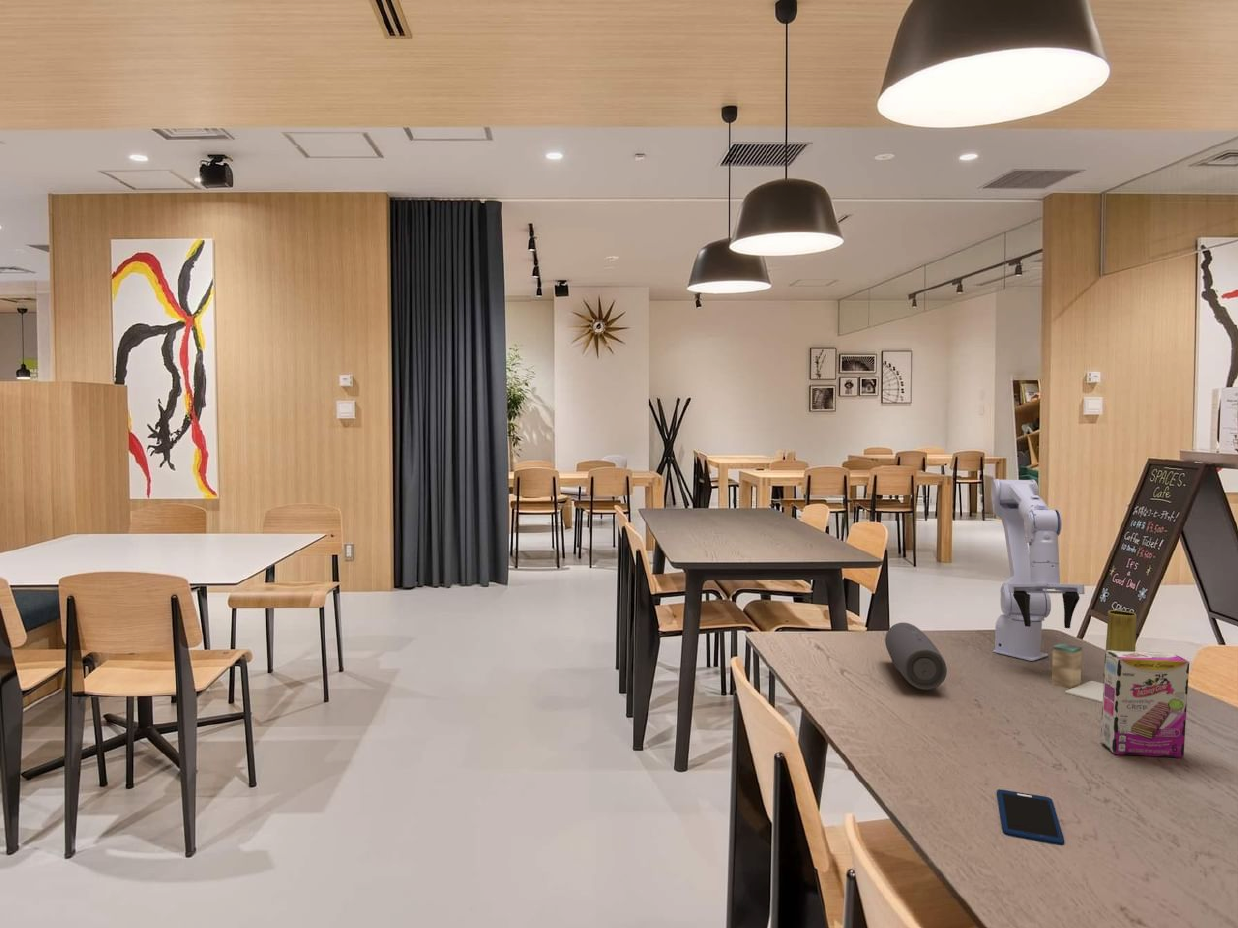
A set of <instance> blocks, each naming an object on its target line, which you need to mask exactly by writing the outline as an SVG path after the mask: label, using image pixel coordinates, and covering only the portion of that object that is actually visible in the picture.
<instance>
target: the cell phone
mask: <svg viewBox="0 0 1238 928" xmlns="http://www.w3.org/2000/svg"><path fill="white" fill-rule="evenodd" d="M996 798H997V804H998V810H999V811H998V812H999V818H1000V825H1001V829H1002V833H1003V834H1004V835H1006V836H1008V837H1014V838H1018V839H1024V840H1030V841H1036V842H1041V843H1047V844H1052V845H1059V846H1063V845H1064V844H1065V837H1064V834H1063V831H1062V827H1061V824H1060V821H1059V818H1058V813H1057V810H1056V808H1055V804H1054V802H1053V799H1052V798H1050V797H1049V796H1044V795H1037V794H1033V793H1026V792H1018V791H1015V790H1014V791H1012V790H1008V789H1007V790H1006V789H996Z"/></svg>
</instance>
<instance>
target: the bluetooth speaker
mask: <svg viewBox="0 0 1238 928" xmlns="http://www.w3.org/2000/svg"><path fill="white" fill-rule="evenodd" d="M884 642H885V646H886V650H887V653H888V655H889V657H890V659H891V662H892V663H893V665H894V666H895V668H896V669H897V671H898V672H899V673H900V674H901V676H902V677H903V678H904V679H905V680H906V681H907V683H908V684H910V685H911V686H913V687H915V688H916V689H918V690H924V691H925V690H927V691H928V690H933V689H936V688H938V687H940V686H941V685H942V684H943V683H944V681H945V680H946V677H947V674H948V672H947V671H948V670H947V665H946V661H945V659H944V657H943V655H942V654H941V652H940V651H939V648H937V647H936V645H935V644H934V643H933V642H932V640H931V639H930V638H929V637H928V636H927V635H926V634H925V633H924V632H923V630H921V629H920V628H918V627H917V626H915V625H914V624H911V623H909V622H899V623H895V624H893V625H891V626H890V627H889V628H888V630H887V632H886V633H885V638H884Z"/></svg>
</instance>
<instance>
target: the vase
mask: <svg viewBox="0 0 1238 928" xmlns="http://www.w3.org/2000/svg"><path fill="white" fill-rule="evenodd" d="M1106 625H1107V627H1106V628H1107V630H1106V638H1105V639H1106V641H1105V651H1108V650H1110V651H1132V652H1137V651H1136V641H1137V640H1136V636H1137V635H1136V634H1137V633H1136V632H1137V614H1136V612H1133V611H1127V610H1119V609H1112V610H1111V609H1110V610H1108V611H1107V624H1106ZM1105 653H1106V652H1105ZM1105 653H1104V654H1105ZM1103 665H1104V668H1103V673H1102V675H1103V676H1104V670H1105V664H1103Z"/></svg>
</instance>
